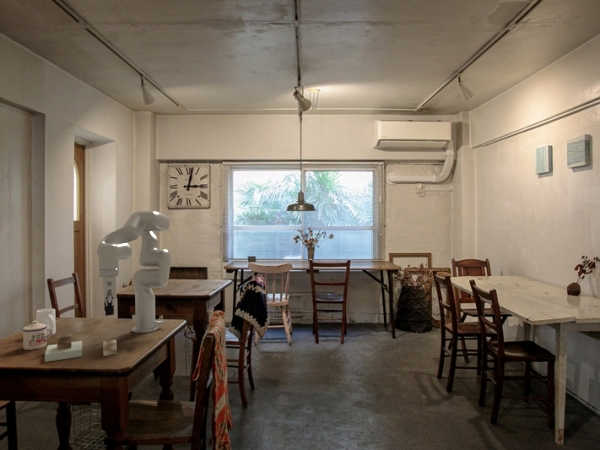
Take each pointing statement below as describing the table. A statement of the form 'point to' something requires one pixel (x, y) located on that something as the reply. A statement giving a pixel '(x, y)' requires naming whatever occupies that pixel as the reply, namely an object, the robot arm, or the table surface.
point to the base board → (63, 352)
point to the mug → (47, 319)
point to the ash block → (109, 347)
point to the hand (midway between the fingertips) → (109, 312)
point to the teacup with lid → (35, 336)
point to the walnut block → (64, 341)
